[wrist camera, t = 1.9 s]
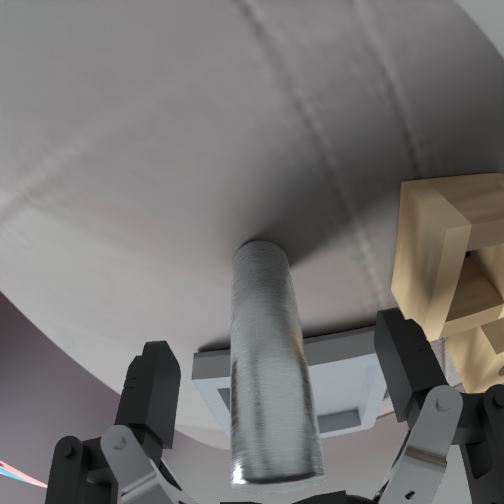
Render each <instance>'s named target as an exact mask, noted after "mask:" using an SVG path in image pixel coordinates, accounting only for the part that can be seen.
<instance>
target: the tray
mask: <svg viewBox="0 0 504 504" xmlns="http://www.w3.org/2000/svg"><path fill="white" fill-rule="evenodd" d="M375 326H376V325H375ZM375 326H370V327H365V328H360V329H356V330H351V331H345V332H340V333H335V334H330V335H324V336H318V337H313V338H307V339H303V340H304V346H305V351H306V357H307V362H308V368H309V373H310V379H311V385H312V391H313V396H314V402H315V408H316V414H317V420H318V426H319V433H320V438H325V437H330V436H335V435H340V434H345V433H350V432H355V431H359V430H364V429H368V428H372V427H373V425H374V423H375V420H376V417H377V414H378V412H379V409H380V406H381V403H382V400H383V397H384V394H385V391H386V388H387V385H386V381H385V378H384V375H383V372H382V369H381V366H380V363H379V360H378V357H377V354H376V351H375V347H374V333H375ZM230 370H231V349H228V350H219V351H210V352H200V353H194V359H193V369H192V379H191V380H192V382H193V383H194V385H195V387H196V388H197V390H198V392H199V393H200V395H201V397H202V398H203V400H204V401H205V403H206V405H207V406H208V408H209V409H210V411H211V412H212V414H213V416H214V417H215V419H216V420H217V422H218V423H219V425H220V426H221V428H222V429H223V431H224V432H225V434H226V435H227V437H228V438H229V440H230Z"/></svg>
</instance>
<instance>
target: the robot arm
mask: <svg viewBox="0 0 504 504" xmlns="http://www.w3.org/2000/svg"><path fill="white" fill-rule="evenodd" d="M374 347H375V351H376V354H377V357H378V360H379V363H380V366H381V369H382V372H383V375H384V378H385V381H386V385H387V388H388V391H389V394H390V397H391V401H392V404H393V407H394V410H395V414H396V417H397V421H398V423H399V422H403V421H407V423H408V427H409V429H408V431H407V433H406V436H405V438H404V440H403V442H402V444H401V447H400V449H399V451H398V453H397V455H396V457H395V459H394V461H393V463H392V465H391V467H390V469H389V471H388V473H387V475H386V476H385V478H384V479H383V481H382V483H381V485H380V486H379V488H378V490H377V492H376V494H375V495H374V497H373V499H372V500H370V499H367V498H365V497H361V496H356V495H346V491H345V490H344V491H338V492H333V493H327V494H321V495H315V496H312V497H310V498H307V499H304V500H301V501H298V502H296V503H292V504H431V503H432V501H433V498H434V496H435V494H436V492H437V489H438V487H439V485H440V483H441V480H442V478H443V475H444V473H445V470H446V467H447V461H446V457H447V454H448V451H449V448H450V445H457V444H459V446H460V450H461V454H462V458H463V462H464V466H465V470H466V475H467V480H468V485H469V489H470V494H471V499H472V504H504V385H502V384H495V385H493V386H491V387H489V388H488V389H487V391H486V392H485V393H461V392H458V391H457V390H456V389H455V388H453V387H451V386H450V385H449V384H448V383H447V381H446V379H445V376H444V374H443V372H442V370H441V367H440V365H439V363H438V361H437V358H436V356H435V354H434V352H433V350H432V349H431V345H430V343H429V341H428V340H427V337H426V335H425V333H424V331H423V329H422V327H421V326H420V325H419V324H418V323H417V322H415V321H414V320H413V319H412V318H411V319H407V320H404V318H403V316H402V314H401V312H400V310H399V309H398V308H397V307H396V308H391V309H387V310H382V311H378V313H377V319H376V326H375V333H374ZM180 379H181V371H180V366H179V363H178V361H177V360H176V358H175V356H174V354H173V352H172V351H171V349H170V347H169V345H168V343H167V342H166V341H152V342H146V343H145V345H144V349H143V353H142V356H136V357H135V358H134V360H133V361H132V362H131V364H130V365H129V367H128V371H127V375H126V380H125V383H124V389H123V391H122V395H121V399H120V404H119V407H118V412H117V416H116V420H115V424H114V426H112V427H110V428H108V429H107V430H106V431H105V432H104V433H103V435H102V437H99V438H95V439H91V440H86V441H80V440H79V439H77V438H76V437H74V436H66V437H63V438H62V439H61V440H59V442H58V443H57V444H56V447H55V450H54V455H53V460H52V465H51V470H50V476H49V481H48V487H47V494H46V500H45V504H117V497H118V496H117V495H118V484H119V485H120V487H121V488H122V491H123V494H122V495H121V499H122V502H123V503H124V504H198V503H197V502H196V501H195V500H194V499H193V498H192V497H191V496H190V495H189V494H188V493H187V492H186V491H185V489H184V488H183V487H182V485H181V484H180V483H179V481H178V480H177V479H176V477H175V476H174V474H173V473H172V471H171V470H170V468H169V467H168V465H167V464H166V463H165V461H164V460H163V458H162V449H172V443H173V435H174V426H175V418H176V409H177V402H178V394H179V386H180ZM220 504H261V503H254V502H220Z"/></svg>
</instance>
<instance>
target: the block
mask: <svg viewBox="0 0 504 504" xmlns="http://www.w3.org/2000/svg"><path fill="white" fill-rule="evenodd" d="M444 345H445V347H446V349H447V351H448V353H449V356H450V358H451V360H452V362H453V364H454V366H455V368H456V370H457V372H458V375H459V377H460V379H461V381H462V383H463V386H464V388H465V390H466V393H481V392H483V391H485V390H487V389H488V388H489V387H491V386H493V385H495V384H501V383H503V382H504V317H503V318H500V319H498V320H495V321H492V322H489V323H486V324H484V325H481V326H478V327H475V328H472V329H469V330H466V331H463V332H460V333H457V334H453V335H450V336H447V339H446V341H445V343H444Z"/></svg>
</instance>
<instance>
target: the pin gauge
mask: <svg viewBox="0 0 504 504" xmlns="http://www.w3.org/2000/svg"><path fill="white" fill-rule="evenodd" d="M230 461H231V462H230V475H231V487H232V488H233V489H235V490H238V491H241V492H247V493H283V492H290V491H297V490H301V489H306V488H309V487H312V486H315V485H318V484H320V483H322V482H323V481H325V480H326V472H325V465H324V459H323V452H322V446H321V439H320V433H319V426H318V420H317V414H316V408H315V402H314V396H313V391H312V385H311V379H310V373H309V368H308V362H307V357H306V351H305V346H304V340H303V335H302V330H301V324H300V319H299V314H298V309H297V304H296V298H295V293H294V288H293V283H292V278H291V273H290V269H289V264H288V259H287V255H286V253H285V251H284V250H283V249H282V248H281V247H280V246H278V245H277V244H275V243H273V242H269V241H260V240H259V241H253V242H250V243H247V244H245V245H243V246H242V247H241V248H239V249H238V250H237V252H236V253H235V255H234V257H233V261H232V297H231V370H230Z"/></svg>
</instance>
